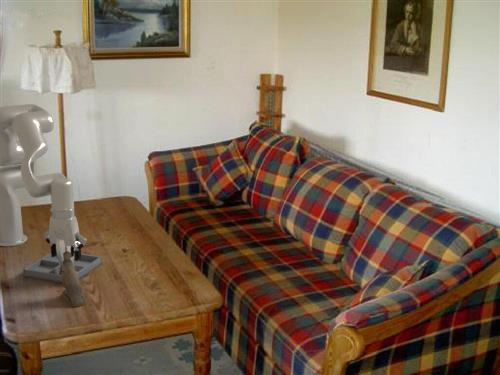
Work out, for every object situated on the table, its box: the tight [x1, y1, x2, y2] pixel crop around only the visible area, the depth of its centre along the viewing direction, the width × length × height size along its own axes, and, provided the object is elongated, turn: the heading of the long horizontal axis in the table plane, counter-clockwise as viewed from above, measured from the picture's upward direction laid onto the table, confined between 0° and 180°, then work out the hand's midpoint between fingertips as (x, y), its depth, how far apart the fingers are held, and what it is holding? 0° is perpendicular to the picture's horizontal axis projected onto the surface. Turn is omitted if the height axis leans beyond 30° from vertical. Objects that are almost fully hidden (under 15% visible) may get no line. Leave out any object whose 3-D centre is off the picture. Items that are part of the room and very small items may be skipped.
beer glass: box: [56, 239, 75, 275], centre depth 231 cm, size 7×7×15 cm
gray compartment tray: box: [23, 252, 103, 285], centre depth 239 cm, size 20×20×3 cm
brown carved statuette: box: [61, 251, 88, 308], centre depth 216 cm, size 12×6×18 cm, turn 32°
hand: (66, 257), depth 231 cm, fingers open, 9 cm apart
